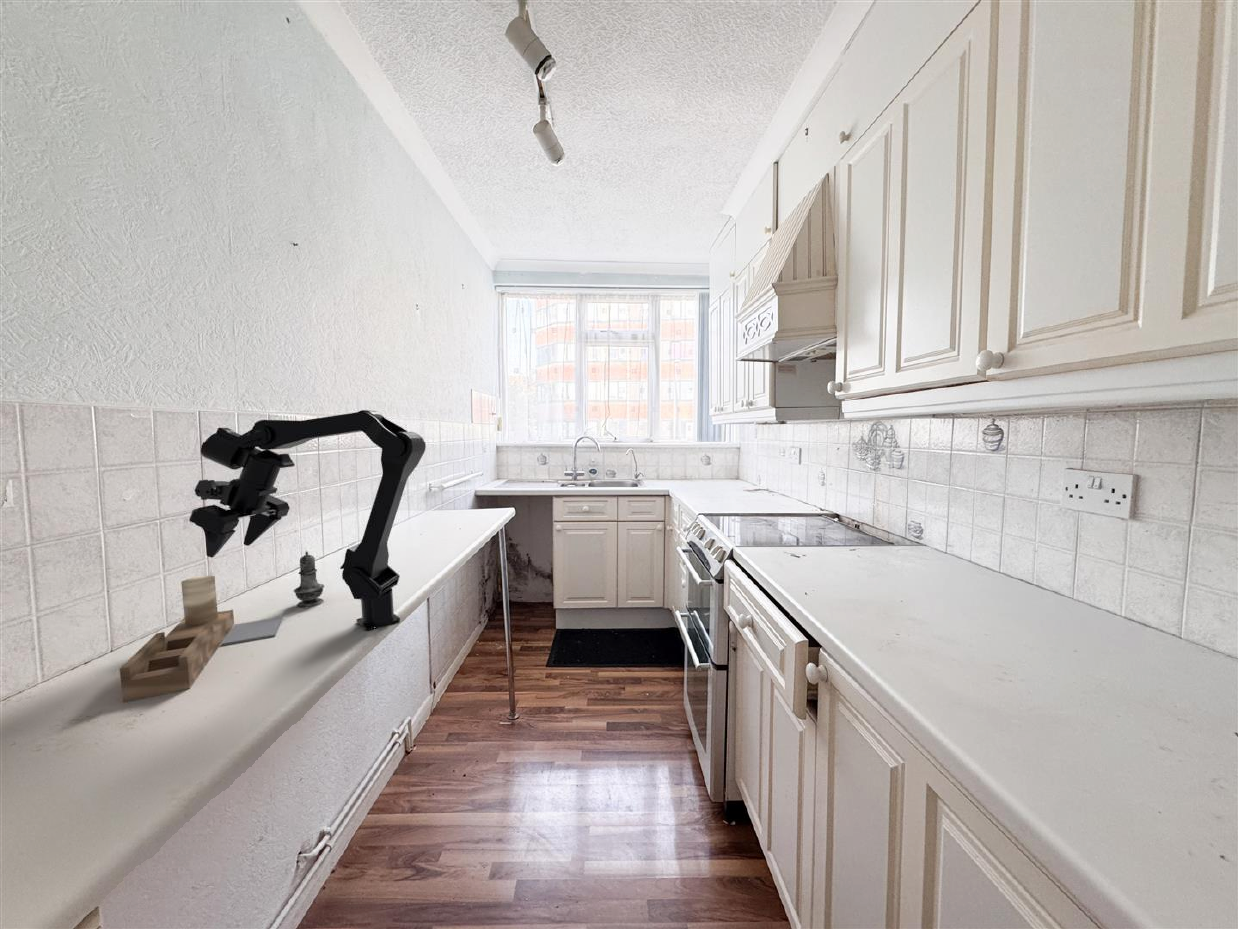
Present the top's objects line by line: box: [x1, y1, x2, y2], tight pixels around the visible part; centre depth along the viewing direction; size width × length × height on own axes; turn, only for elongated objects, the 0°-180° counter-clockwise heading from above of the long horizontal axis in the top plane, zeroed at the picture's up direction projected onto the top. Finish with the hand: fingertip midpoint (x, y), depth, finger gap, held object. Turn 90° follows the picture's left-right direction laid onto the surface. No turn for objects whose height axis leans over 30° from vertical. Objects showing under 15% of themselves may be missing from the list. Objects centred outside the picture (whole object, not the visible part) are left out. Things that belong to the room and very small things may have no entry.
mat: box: [221, 616, 284, 646], centre depth 95 cm, size 10×8×1 cm
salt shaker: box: [293, 550, 325, 609], centre depth 109 cm, size 6×6×12 cm
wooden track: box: [119, 609, 235, 703], centre depth 84 cm, size 28×8×5 cm, turn 27°
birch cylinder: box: [181, 575, 219, 626], centre depth 93 cm, size 5×5×8 cm
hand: (228, 550), depth 97 cm, fingers open, 9 cm apart
